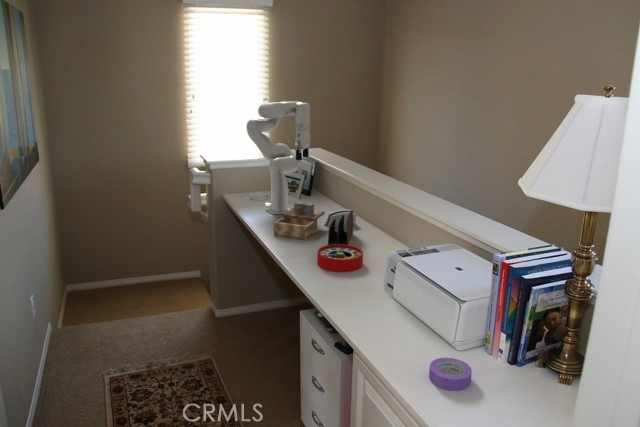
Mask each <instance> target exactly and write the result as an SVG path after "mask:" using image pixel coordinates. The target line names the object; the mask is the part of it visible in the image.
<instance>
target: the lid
mask: <svg viewBox="0 0 640 427" xmlns="http://www.w3.org/2000/svg"><path fill="white" fill-rule="evenodd" d="M325 212H326V211H324V210H315V203H310V202H299V201H296V202H294V203H293V207H292V208H290V210H289V211H287V212H286V213H284V214H282V217H290V218H298V219H306V220H314V221H315V220H317V221H318V219H320V218H321V217H322V216H324V215H325Z"/></svg>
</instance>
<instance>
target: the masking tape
mask: <svg viewBox="0 0 640 427" xmlns="http://www.w3.org/2000/svg"><path fill="white" fill-rule="evenodd" d="M447 372H448V373H453V374H455V375H452V374H451V375H450V374H446V373H447ZM472 374H473V370H472V368H471V366H470V365H469V364H468V363H466V362H465V361H463V360H460V359H457V358H453V357H440V358H436V359H434V360H432V361H431V362H430V363H429V374H428V378H429V381H430V382H431V384H433V385H434V386H435V387H438V388H439V389H442V390H445V391H451V392H458V391H459V392H460V391H463V390H466V389H468V388H469V387H470V386H471V384H472Z"/></svg>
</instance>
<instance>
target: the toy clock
mask: <svg viewBox="0 0 640 427" xmlns="http://www.w3.org/2000/svg"><path fill="white" fill-rule="evenodd" d="M316 253H317V257H316V258H317V260H316V264H317V266H318V267H319V268H320V269H322V270H325V271H328V272H330V273H331V272H333V273H350V272H355V271H358V270H360V269H361V268H363V265H364V263H363V262H364V251H363V250H362V249H361V248H359V247H357V246H354V245H342V244H335V245H328V244H326V245H324V246H321V247H319V248H318V249H317V252H316Z"/></svg>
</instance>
